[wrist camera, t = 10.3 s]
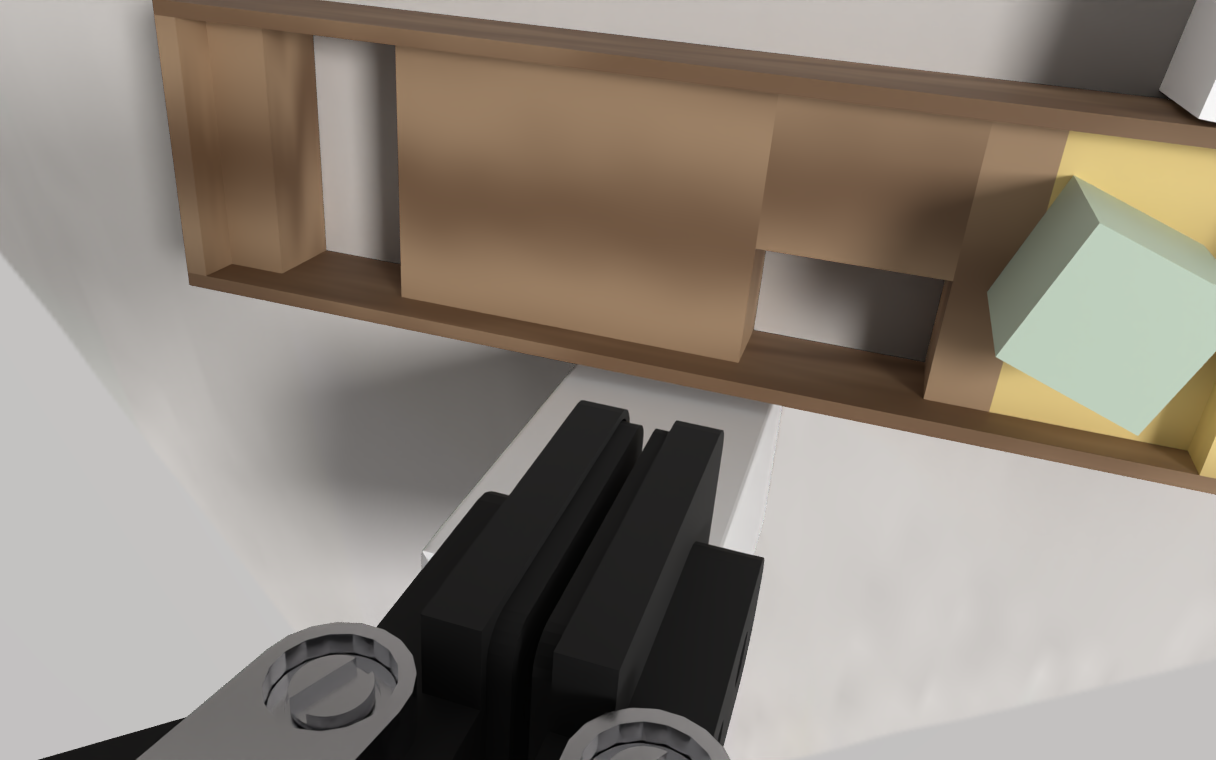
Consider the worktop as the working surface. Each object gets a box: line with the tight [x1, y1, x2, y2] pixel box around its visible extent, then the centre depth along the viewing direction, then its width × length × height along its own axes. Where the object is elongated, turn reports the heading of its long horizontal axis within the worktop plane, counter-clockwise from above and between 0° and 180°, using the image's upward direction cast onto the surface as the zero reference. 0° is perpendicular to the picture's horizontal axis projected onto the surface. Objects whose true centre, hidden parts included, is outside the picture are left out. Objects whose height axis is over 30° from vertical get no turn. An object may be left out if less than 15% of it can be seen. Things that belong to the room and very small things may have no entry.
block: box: [987, 175, 1216, 436], centre depth 25 cm, size 4×4×5 cm
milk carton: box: [422, 364, 782, 569], centre depth 29 cm, size 7×7×19 cm
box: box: [152, 0, 1216, 495], centre depth 31 cm, size 10×35×4 cm, turn 86°
